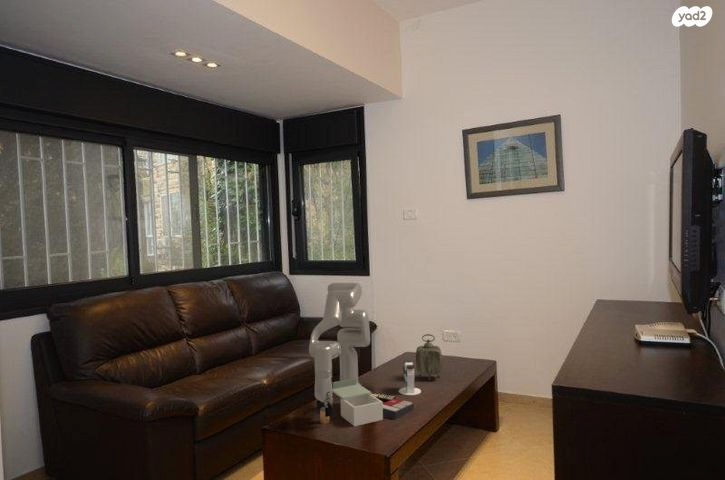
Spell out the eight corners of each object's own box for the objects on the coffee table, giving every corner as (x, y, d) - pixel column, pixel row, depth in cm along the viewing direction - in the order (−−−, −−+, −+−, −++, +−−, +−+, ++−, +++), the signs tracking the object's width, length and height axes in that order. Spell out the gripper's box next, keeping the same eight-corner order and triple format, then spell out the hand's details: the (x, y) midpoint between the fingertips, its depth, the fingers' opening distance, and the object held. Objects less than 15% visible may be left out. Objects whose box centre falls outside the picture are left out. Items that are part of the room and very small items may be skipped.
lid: (330, 390, 227) (330, 382, 227) (357, 385, 234) (357, 377, 234) (342, 399, 214) (342, 391, 214) (371, 393, 221) (371, 386, 221)
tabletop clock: (442, 376, 270) (440, 332, 269) (443, 381, 261) (442, 336, 260) (416, 376, 271) (415, 332, 271) (416, 381, 262) (415, 336, 262)
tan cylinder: (319, 421, 212) (318, 407, 211) (327, 419, 213) (327, 406, 213) (322, 424, 208) (322, 410, 208) (331, 422, 210) (330, 408, 210)
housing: (340, 415, 217) (340, 398, 217) (368, 409, 224) (367, 392, 224) (354, 426, 205) (353, 407, 205) (382, 419, 211) (382, 401, 211)
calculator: (414, 402, 222) (395, 410, 211) (414, 411, 222) (395, 420, 211) (395, 397, 230) (375, 405, 218) (395, 406, 229) (375, 414, 218)
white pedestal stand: (397, 388, 253) (396, 359, 252) (418, 387, 254) (417, 358, 253) (400, 395, 241) (399, 366, 240) (422, 394, 242) (422, 365, 241)
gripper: (308, 370, 216) (309, 408, 216) (323, 379, 201) (324, 420, 201) (323, 367, 219) (324, 405, 220) (339, 377, 204) (340, 417, 204)
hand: (324, 412), depth 210 cm, fingers open, 9 cm apart
